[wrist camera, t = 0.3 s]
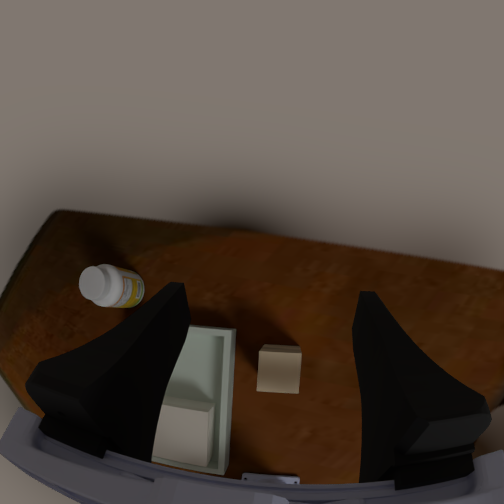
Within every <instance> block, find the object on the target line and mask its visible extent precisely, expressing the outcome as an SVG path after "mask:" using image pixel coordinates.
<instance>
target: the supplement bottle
mask: <svg viewBox="0 0 504 504" xmlns="http://www.w3.org/2000/svg"><path fill="white" fill-rule="evenodd" d="M79 287H80V291H81V293H82V295H83V296H84V297H85V298H87V299H89V300H92V301H93V302H94V303H95V304H97V305H99V306H102V307H117V308H131V307H134V306H136V305H137V304H138V303H139V302H140V301H141V299H142V297H143V295H144V283H143V281H142V279H141V277H140V276H139V275H138V274H137V273H135V272H133V271H130V270H127V269H123V268H119V267H116V266H113V265H108V264H102V265H99V266H97V267H95V266H91V267H88V268H86V269H85V270H84V271H83V272H82V274H81V276H80V280H79Z"/></svg>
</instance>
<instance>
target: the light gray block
mask: <svg viewBox="0 0 504 504" xmlns="http://www.w3.org/2000/svg"><path fill="white" fill-rule="evenodd" d="M215 406H216V403H209V402H201V401H195V400H188V399H182V398H176V397H171V396H164V399H163V403H162V407H161V411H160V416H159V420H158V425H157V430H156V435H155V440H154V446H153V453H152V456H156V457H160V458H164V459H168V460H173V461H177V462H182V463H187V464H192V465H198V466H203V467H207V465H208V464H209V462H210V460H211V458H212V457H213V455H214V431H215Z"/></svg>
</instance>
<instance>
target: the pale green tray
mask: <svg viewBox="0 0 504 504" xmlns="http://www.w3.org/2000/svg"><path fill="white" fill-rule="evenodd" d="M235 344H236V329H232V328H220V327H209V326H198V325H190V326H189V330H188V334H187V337H186V340H185V343H184V345H183V348H182V350H181V353H180V355H179V358H178V360H177V363H176V365H175V368H174V370H173V372H172V375H171V377H170V380H169V383H168V385H167V388H166V392H165V396H171V397H176V398H182V399H188V400H195V401H201V402H209V403H216V406H215V431H214V455H213V457H212V458H211V460H210V462H209V464H208V465H207V467H203V466H198V465H192V464H187V463H182V462H177V461H173V460H168V459H164V458H160V457H156V456H152V460H151V461H155V462H159V463H163V464H167V465H171V466H176V467H180V468H185V469H190V470H195V471H201V472H206V473H213V474H219V475H224V474H225V472H226V470H227V467H228V465H229V453H230V433H231V414H232V396H233V378H234V361H235Z"/></svg>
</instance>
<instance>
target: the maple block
mask: <svg viewBox="0 0 504 504" xmlns="http://www.w3.org/2000/svg"><path fill="white" fill-rule="evenodd" d="M301 355H302V353H301V349H300V346H288V345H269V344H264V346H263V347H262V348H261V350H260V351H259V363H258V379H257V391H265V392H281V393H298V392H299V381H300V368H301Z"/></svg>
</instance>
